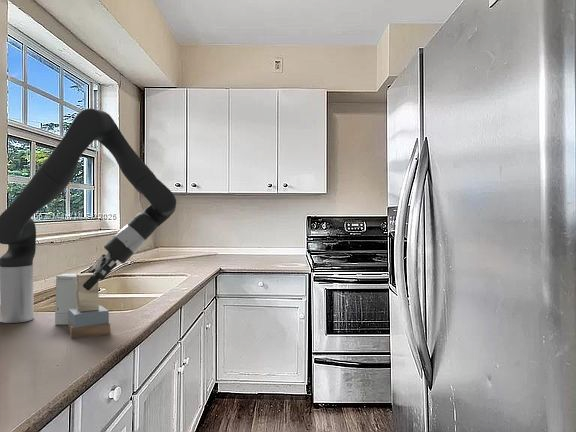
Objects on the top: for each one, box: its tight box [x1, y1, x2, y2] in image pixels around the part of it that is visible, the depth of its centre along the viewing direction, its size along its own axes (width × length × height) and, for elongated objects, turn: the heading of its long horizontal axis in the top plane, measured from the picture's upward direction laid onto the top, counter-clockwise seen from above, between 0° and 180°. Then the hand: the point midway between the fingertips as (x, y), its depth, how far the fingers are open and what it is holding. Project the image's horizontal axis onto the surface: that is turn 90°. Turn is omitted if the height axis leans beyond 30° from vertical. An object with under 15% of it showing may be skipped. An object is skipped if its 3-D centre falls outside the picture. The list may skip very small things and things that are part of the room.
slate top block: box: [68, 304, 110, 328], centre depth 144 cm, size 9×9×4 cm
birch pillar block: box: [75, 272, 100, 312], centre depth 144 cm, size 5×5×10 cm
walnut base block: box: [68, 321, 111, 340], centre depth 145 cm, size 10×10×4 cm
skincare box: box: [54, 273, 77, 326], centre depth 156 cm, size 8×6×15 cm
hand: (83, 286), depth 144 cm, fingers open, 8 cm apart
